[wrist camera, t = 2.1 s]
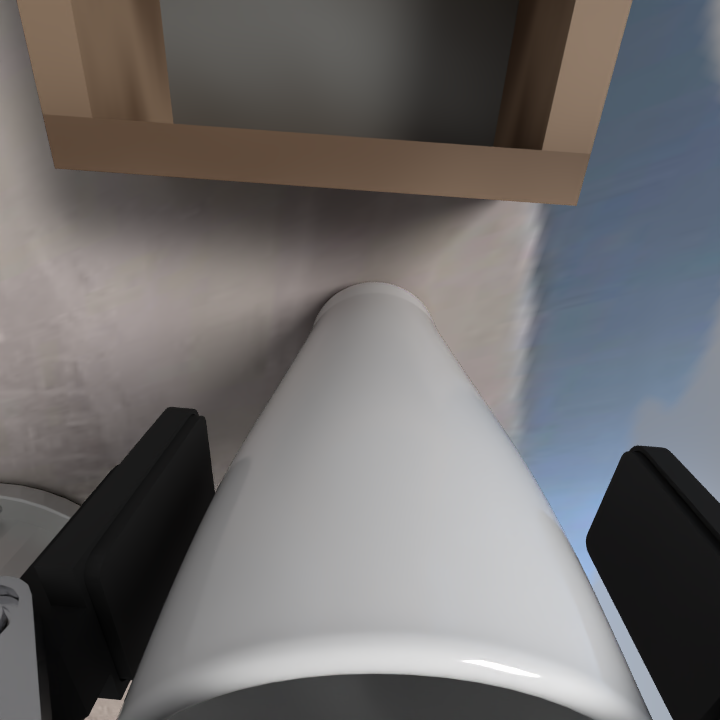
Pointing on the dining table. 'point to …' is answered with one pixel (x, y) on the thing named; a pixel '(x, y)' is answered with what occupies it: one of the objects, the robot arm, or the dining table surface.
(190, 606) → the drinking glass
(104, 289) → the dining table surface
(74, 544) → the robot arm
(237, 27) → the caddy
